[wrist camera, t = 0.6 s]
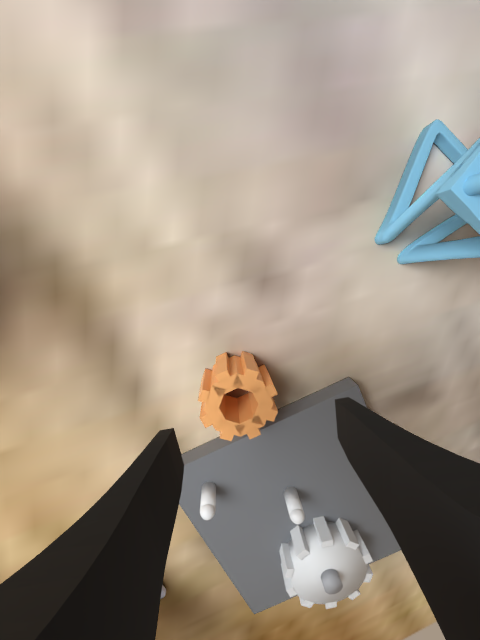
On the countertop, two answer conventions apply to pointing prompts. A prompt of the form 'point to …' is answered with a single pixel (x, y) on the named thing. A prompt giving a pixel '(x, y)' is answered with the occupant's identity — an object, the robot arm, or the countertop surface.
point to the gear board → (288, 507)
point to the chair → (452, 188)
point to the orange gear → (244, 410)
